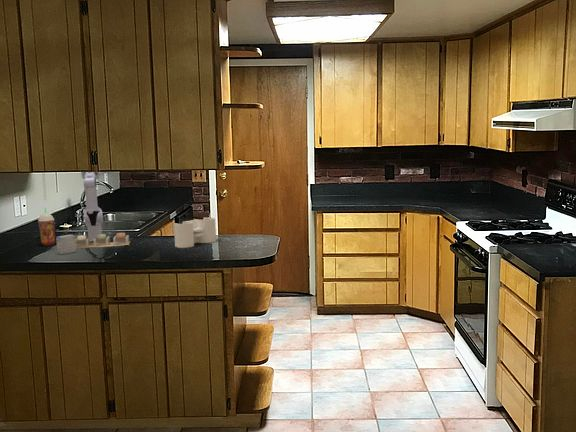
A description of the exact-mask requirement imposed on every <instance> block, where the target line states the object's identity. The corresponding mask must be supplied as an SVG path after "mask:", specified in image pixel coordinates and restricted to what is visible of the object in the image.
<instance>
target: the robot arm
mask: <svg viewBox="0 0 576 432" xmlns="http://www.w3.org/2000/svg"><path fill="white" fill-rule="evenodd" d="M80 172H81V171H80ZM80 174H81V177H82V180H83V182H82V183H83V188H84V193H85V207H86V208H84V209H83V219H84V225H85V224H86V226H87V236H88V237H87V238H90V242H94V238H95V237H97V235H98V234H103V232H102V231H103V230H102V224H103V223H104V216H103V210H102V208H100V207H99V206H98V192H97V187H98V181H97V180H98V179H100V171H99V172H81V173H80Z"/></svg>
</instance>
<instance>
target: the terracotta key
mask: <svg viewBox="0 0 576 432" xmlns="http://www.w3.org/2000/svg"><path fill="white" fill-rule="evenodd" d="M125 235H126V232H117V233H116V236H117V238H121V237H125Z"/></svg>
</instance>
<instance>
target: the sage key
mask: <svg viewBox="0 0 576 432" xmlns="http://www.w3.org/2000/svg"><path fill="white" fill-rule="evenodd" d="M106 237H107V234H106V233H102V234H98V235H97V239H105V238H106Z"/></svg>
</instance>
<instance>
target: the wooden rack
mask: <svg viewBox="0 0 576 432" xmlns="http://www.w3.org/2000/svg"><path fill="white" fill-rule="evenodd" d="M75 243H76V250H80V249H81V250H82V249H98V248H111V247H113V246H114V247H125V245H128V246H130V243H131V240H130V235H129V234H127V235H126V234H125V237H121V238H117V235H115V236H114V237H113V241H112V242H111V239H110V236H109V235H108V236H106V238H105V239H97V237H95V238H94V241H93V243H91V241H90V238H88V237H86V240H78V239H77V238H76V237H75ZM114 247H113V248H114Z"/></svg>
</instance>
